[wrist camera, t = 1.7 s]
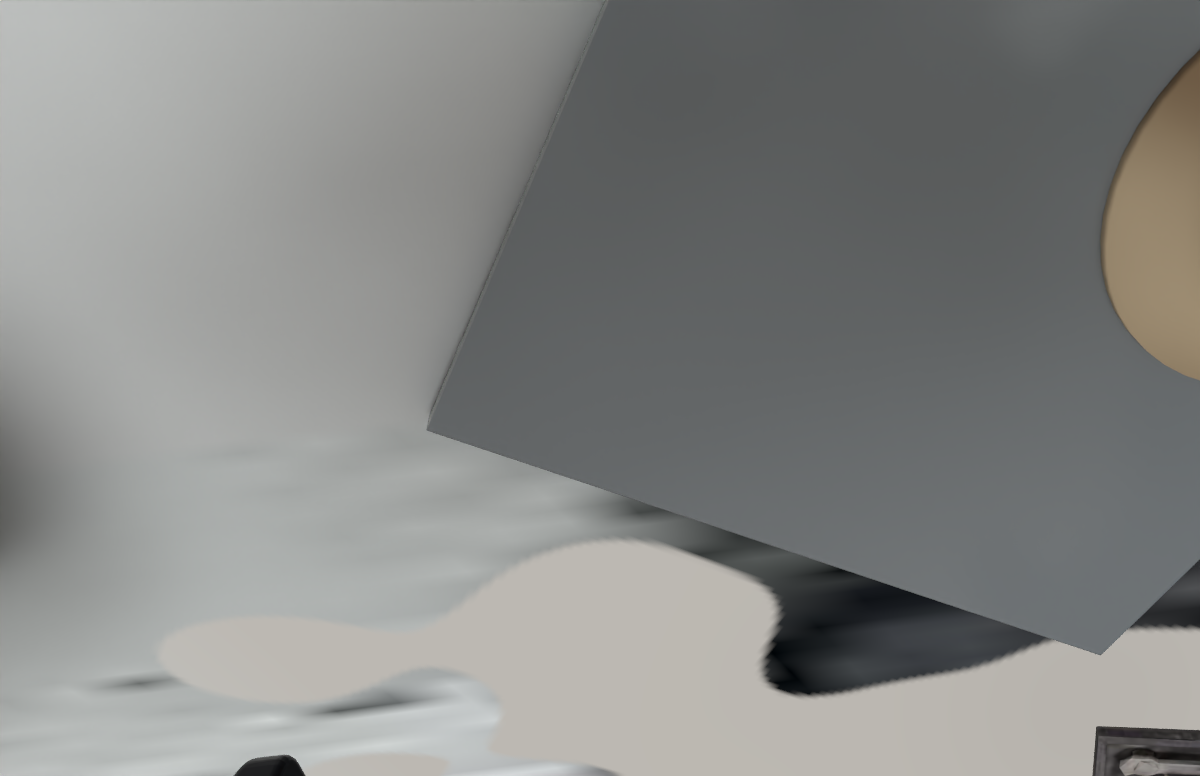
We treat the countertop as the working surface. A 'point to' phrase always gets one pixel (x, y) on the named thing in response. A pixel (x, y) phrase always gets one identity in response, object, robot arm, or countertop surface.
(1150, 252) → the cork mat
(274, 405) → the countertop surface
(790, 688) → the countertop surface
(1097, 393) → the slate board
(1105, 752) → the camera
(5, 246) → the countertop surface
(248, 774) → the robot arm
